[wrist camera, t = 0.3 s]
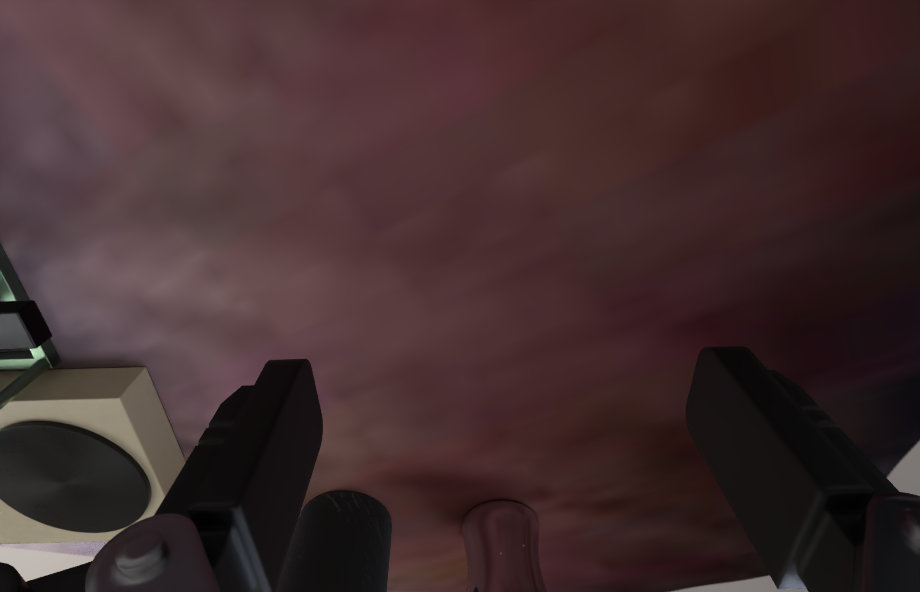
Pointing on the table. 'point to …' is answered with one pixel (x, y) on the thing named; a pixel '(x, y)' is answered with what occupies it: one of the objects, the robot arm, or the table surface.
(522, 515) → the beer glass
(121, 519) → the burner
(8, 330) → the saucepan
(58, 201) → the table surface
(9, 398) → the dish rack
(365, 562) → the travel mug
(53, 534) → the plate
